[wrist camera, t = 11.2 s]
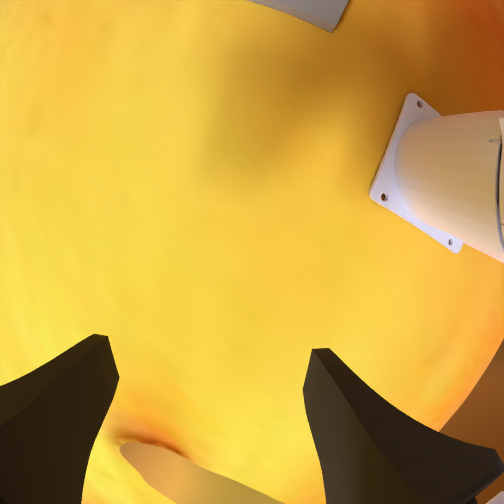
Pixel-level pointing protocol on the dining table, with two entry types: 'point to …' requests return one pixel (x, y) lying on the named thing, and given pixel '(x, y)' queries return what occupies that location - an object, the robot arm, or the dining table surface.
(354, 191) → the dining table surface
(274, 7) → the jig board
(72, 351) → the robot arm
